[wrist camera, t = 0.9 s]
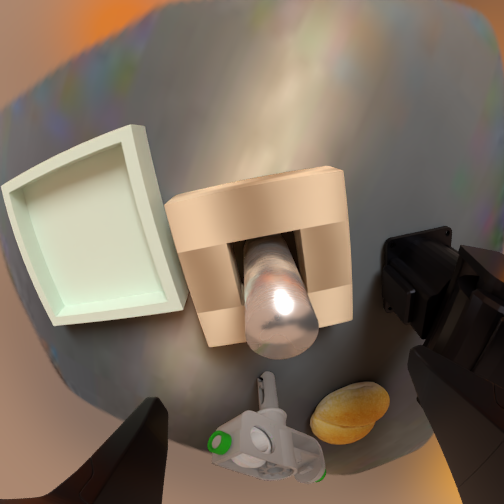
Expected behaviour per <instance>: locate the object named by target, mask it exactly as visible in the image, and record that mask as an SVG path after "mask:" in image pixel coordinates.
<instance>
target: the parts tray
mask: <svg viewBox="0 0 504 504" xmlns="http://www.w3.org/2000/svg"><path fill="white" fill-rule="evenodd" d="M1 189H2V193H3V197H4V201H5V205H6V208H7V212H8V216H9V219H10V222H11V226H12V229H13V232H14V235H15V238H16V241H17V244H18V247H19V249H20V252H21V255H22V257H23V260H24V263H25V265H26V268H27V270H28V273H29V275H30V277H31V280H32V282H33V284H34V287H35V289H36V291H37V293H38V295H39V297H40V300H41V302H42V304H43V306H44V308H45V310H46V312H47V314H48V316H49V318H50V320H51V322H52V323H53V325H54V326H57V325H68V324H78V323H88V322H97V321H106V320H114V319H122V318H130V317H138V316H146V315H153V314H160V313H167V312H174V311H181V310H183V309H184V306H185V303H186V299H187V296H188V293H189V290H188V287H187V284H186V281H185V278H184V274H183V271H182V268H181V265H180V262H179V258H178V255H177V252H176V248H175V245H174V242H173V238H172V235H171V231H170V228H169V224H168V220H167V217H166V213H165V209H164V206H163V202H162V198H161V194H160V190H159V186H158V182H157V178H156V174H155V170H154V166H153V162H152V157H151V153H150V148H149V144H148V139H147V135H146V130H145V126H140V125H132V124H130V125H128V126H125V127H122V128H119V129H117V130H114V131H111V132H109V133H106V134H104V135H101V136H99V137H96V138H94V139H91V140H89V141H87V142H84V143H82V144H80V145H77V146H75V147H73V148H71V149H69V150H67V151H64V152H62V153H60V154H58V155H56V156H54V157H52V158H50V159H48V160H46V161H44V162H42V163H40V164H38V165H37V166H35V167H33V168H31V169H29V170H27V171H26V172H24V173H22V174H20V175H19V176H17V177H15V178H13V179H12V180H10V181H8V182H7V183H5V184H4V185H2V186H1Z"/></svg>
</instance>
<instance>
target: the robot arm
mask: <svg viewBox="0 0 504 504" xmlns="http://www.w3.org/2000/svg"><path fill="white" fill-rule="evenodd" d="M446 231H447V233H446ZM451 239H452V230H451V228H449V227H447V226H443V227H438V228H434V229H429V230H424V231H420V232H415V233H410V234H405V235H401V236H396V237H391V238H388V239H387V240H386V242H385V266H384V268H383V282H382V297H383V298H384V304H383V308H384V310H385V311H386V312H387V313H391V312H395V313H396V314H397V316H398V317H399V318H400V319H401V321H402V322H403V323H404V324H405V325H408V324H410V325H411V326H412V327H413V329H414V330H415V331H416V332H417V334H418V335H419V336H420V338H421V339H426V340H425V342H424V344H423V345H418V346H415V347H413V348H411V350H410V353H409V359H408V370H409V373H410V376H411V379H412V381H413V384H414V387H415V390H416V392H417V395H418V396H417V401H418V403H419V404H420V406H421V407H422V408H423V410H424V412H425V414H426V416H427V418H428V420H429V423H430V425H431V427H432V429H433V431H434V433H435V435H436V438H437V440H438V442H439V444H440V447H441V449H442V451H443V454H444V456H445V458H446V461H447V463H448V466H449V468H450V470H451V473H452V476H453V478H454V481H455V483H456V486H457V488H458V492H459V494H460V497H461V500H462V503H463V504H504V254H502V253H500V252H497V251H492V250H487V249H481V248H476V247H470V246H464V245H460V248H459V252H458V251H457V250H455V249H453V248H452V247H451ZM391 243H393V246H392V247H390V244H391ZM389 306H390V307H389ZM388 307H389V308H388ZM167 450H168V411H167V409H166V408H165V406H164V405H163V403H162V402H161V400H160V399H159V398H158V397H147V398H146V399H145V400H144V401H143V402H142V403H141V404H140V405H139V406H138V407H137V409H136V410H135V411H134V412H133V413H132V414H131V415H130V416H129V417H128V418H127V419H126V420H125V421H124V422H123V423H122V424H121V426H120V427H119V428H118V429H117V430H116V431H115V432H114V433H113V434H112V435H111V436H110V437H109V438H108V439H107V440H106V441H105V442H104V444H103V445H102V446H101V447H100V448H99V449H98V450H97V451H96V452H95V453H94V454H93V455H92V456H91V457H90V458H89V459H88V460H87V461H86V462H85V463H84V464H83V465H82V466H81V467H80V468H79V469H78V470H77V471H76V472H75V473H73V474H72V475H71V476H70V477H69V478H68V479H66V480H65V481H64V482H63V483H61V484H60V485H59V486H58V487H57V488H56V489H54V490H53V491H52V492H50V493H48V494H46V495H44V496H41V497H35V498H23V499H0V504H162V494H163V485H164V476H165V467H166V459H167Z"/></svg>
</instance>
